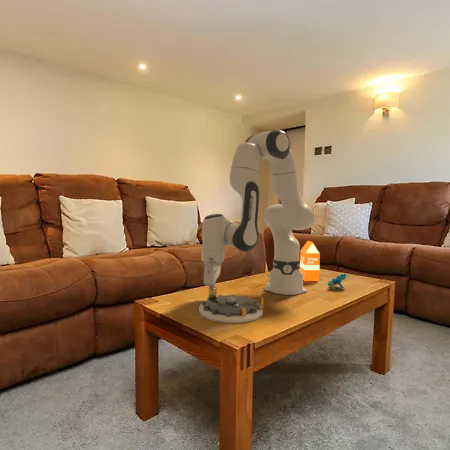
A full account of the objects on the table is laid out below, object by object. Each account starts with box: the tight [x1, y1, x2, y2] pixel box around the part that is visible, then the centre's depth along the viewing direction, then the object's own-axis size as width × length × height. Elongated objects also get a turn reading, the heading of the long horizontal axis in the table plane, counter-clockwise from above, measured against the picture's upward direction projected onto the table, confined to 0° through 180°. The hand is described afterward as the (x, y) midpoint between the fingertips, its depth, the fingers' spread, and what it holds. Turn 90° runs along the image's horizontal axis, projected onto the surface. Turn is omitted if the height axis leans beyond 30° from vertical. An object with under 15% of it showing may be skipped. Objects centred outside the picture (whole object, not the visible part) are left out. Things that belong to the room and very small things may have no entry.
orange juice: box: [299, 240, 321, 282], centre depth 172 cm, size 8×9×20 cm
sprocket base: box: [198, 297, 265, 324], centre depth 119 cm, size 23×23×6 cm
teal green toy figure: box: [327, 273, 348, 290], centre depth 155 cm, size 11×6×10 cm
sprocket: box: [201, 286, 261, 317], centre depth 119 cm, size 21×21×6 cm
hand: (212, 291), depth 128 cm, fingers closed
